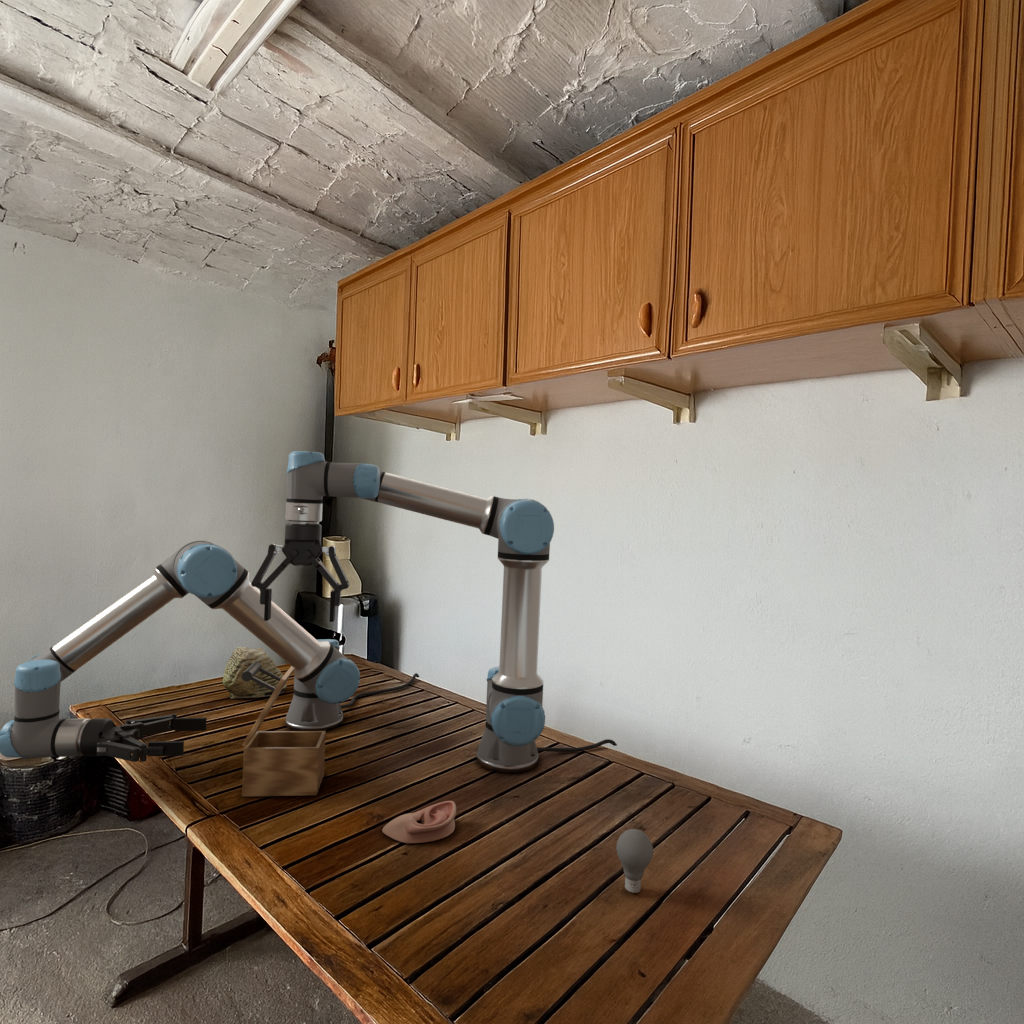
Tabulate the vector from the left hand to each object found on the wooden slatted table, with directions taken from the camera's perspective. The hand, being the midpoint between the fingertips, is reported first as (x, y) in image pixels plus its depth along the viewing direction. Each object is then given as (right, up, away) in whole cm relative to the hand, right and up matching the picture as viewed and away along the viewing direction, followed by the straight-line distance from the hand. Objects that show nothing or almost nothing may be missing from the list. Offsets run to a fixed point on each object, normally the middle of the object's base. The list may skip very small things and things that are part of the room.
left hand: (195, 735), depth 135 cm
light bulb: (+88, -16, -30) cm, 94 cm away
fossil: (-13, -9, +63) cm, 65 cm away
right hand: (+22, +24, +3) cm, 33 cm away
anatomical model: (+50, -14, -13) cm, 53 cm away
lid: (+15, +6, +2) cm, 17 cm away
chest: (+18, -12, +3) cm, 22 cm away
